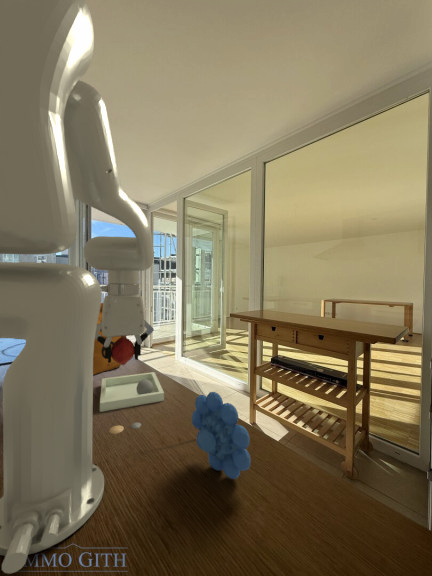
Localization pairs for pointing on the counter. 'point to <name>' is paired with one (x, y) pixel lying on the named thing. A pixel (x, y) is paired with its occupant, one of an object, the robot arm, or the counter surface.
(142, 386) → the ball
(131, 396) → the dish
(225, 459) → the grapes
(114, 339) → the coffee package
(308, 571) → the counter surface
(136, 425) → the tile
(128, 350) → the onion
